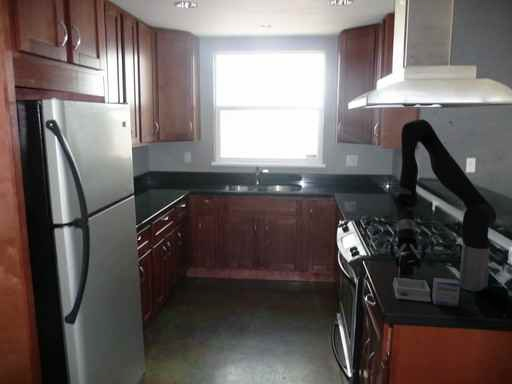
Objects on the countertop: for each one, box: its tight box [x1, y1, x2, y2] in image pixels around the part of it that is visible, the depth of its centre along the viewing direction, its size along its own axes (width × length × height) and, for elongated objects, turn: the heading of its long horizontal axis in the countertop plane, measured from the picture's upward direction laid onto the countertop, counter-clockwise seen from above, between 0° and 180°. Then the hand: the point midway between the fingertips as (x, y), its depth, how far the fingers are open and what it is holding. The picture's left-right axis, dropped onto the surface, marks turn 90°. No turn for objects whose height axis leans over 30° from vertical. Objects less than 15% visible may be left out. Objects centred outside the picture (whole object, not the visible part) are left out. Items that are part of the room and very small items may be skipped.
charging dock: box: [392, 277, 432, 302], centre depth 156 cm, size 12×13×4 cm
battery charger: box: [397, 251, 417, 280], centre depth 167 cm, size 7×4×11 cm, turn 111°
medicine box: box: [431, 277, 461, 307], centre depth 147 cm, size 8×4×9 cm, turn 80°
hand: (407, 267), depth 166 cm, fingers closed on battery charger, 7 cm apart
